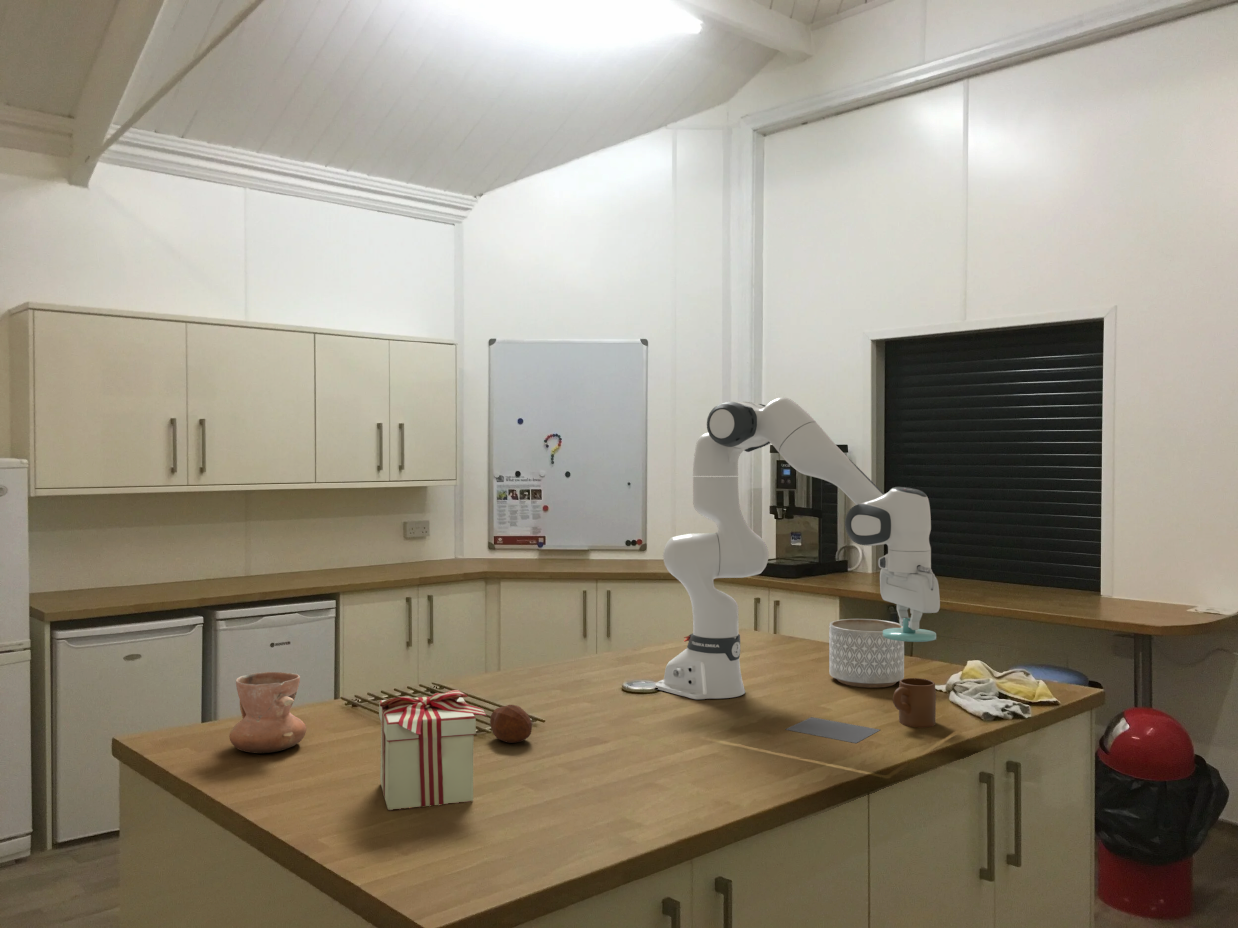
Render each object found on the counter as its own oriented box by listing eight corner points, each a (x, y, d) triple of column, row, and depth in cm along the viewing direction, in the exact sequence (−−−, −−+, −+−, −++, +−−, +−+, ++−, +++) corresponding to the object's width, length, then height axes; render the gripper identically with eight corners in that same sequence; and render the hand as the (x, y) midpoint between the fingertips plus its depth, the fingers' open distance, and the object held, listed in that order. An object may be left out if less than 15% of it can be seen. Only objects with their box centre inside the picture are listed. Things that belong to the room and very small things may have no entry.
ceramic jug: (323, 748, 198) (322, 676, 198) (254, 764, 187) (253, 689, 187) (278, 732, 210) (278, 665, 210) (211, 746, 200) (211, 676, 200)
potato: (509, 731, 209) (509, 696, 209) (544, 741, 202) (544, 705, 202) (478, 740, 203) (478, 704, 203) (513, 751, 196) (513, 713, 196)
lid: (873, 637, 212) (873, 618, 212) (896, 630, 220) (896, 612, 220) (923, 643, 205) (923, 624, 205) (944, 636, 213) (944, 617, 213)
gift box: (391, 820, 160) (391, 713, 159) (372, 784, 177) (371, 688, 176) (494, 805, 166) (493, 702, 166) (465, 772, 183) (465, 679, 183)
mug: (910, 736, 206) (910, 691, 206) (879, 728, 212) (879, 684, 211) (942, 725, 213) (942, 682, 213) (912, 718, 219) (912, 675, 219)
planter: (912, 678, 258) (913, 622, 258) (891, 692, 242) (891, 634, 242) (843, 669, 268) (843, 616, 268) (818, 683, 252) (818, 626, 252)
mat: (785, 731, 209) (785, 729, 209) (811, 719, 218) (811, 716, 218) (856, 745, 199) (856, 742, 199) (880, 732, 208) (880, 729, 208)
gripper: (947, 568, 203) (947, 635, 203) (900, 558, 223) (900, 619, 223) (919, 569, 201) (919, 636, 202) (874, 558, 221) (874, 620, 222)
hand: (909, 627), depth 212 cm, fingers closed on lid, 3 cm apart
